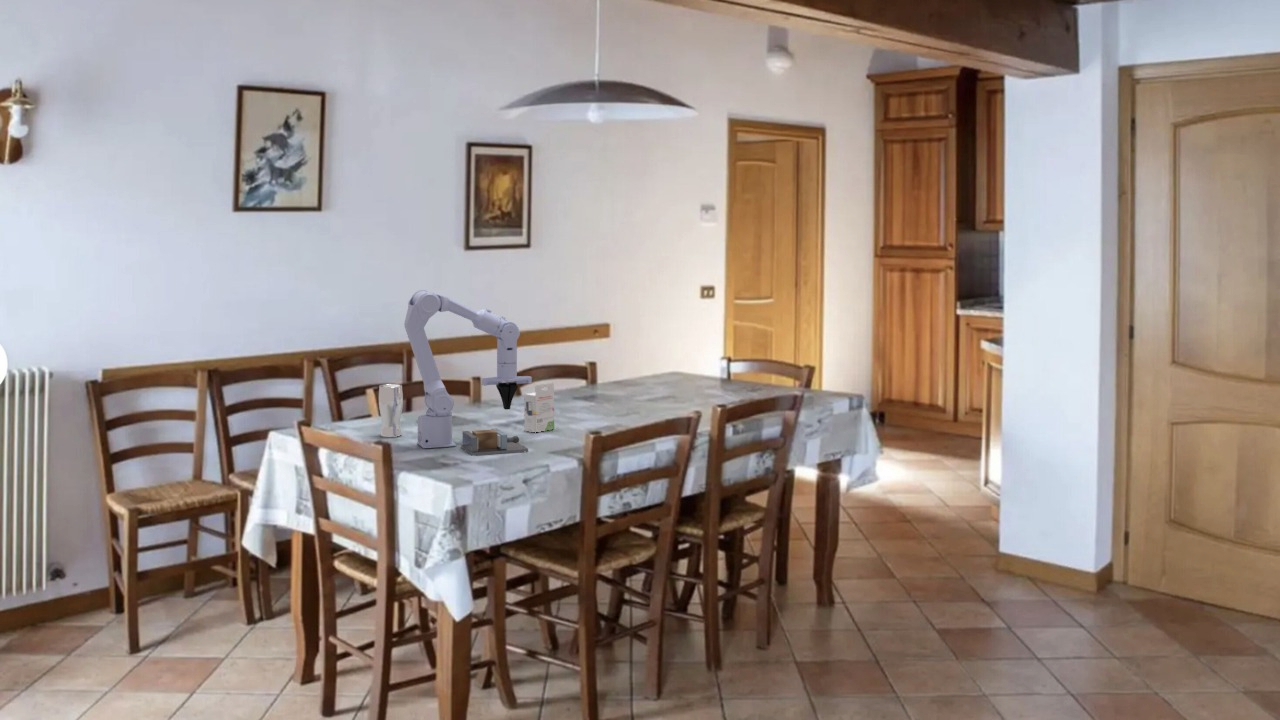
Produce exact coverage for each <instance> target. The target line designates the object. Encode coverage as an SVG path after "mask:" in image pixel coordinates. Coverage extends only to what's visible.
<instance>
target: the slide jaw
mask: <svg viewBox="0 0 1280 720" xmlns="http://www.w3.org/2000/svg"><path fill="white" fill-rule="evenodd" d="M490 430H494V431H496V432H497V447H499V448H500V449H507V443H508V442H514V443H519V441H520V437H519V436H517V435H514V436H512V437H511V436H510V437H508V434H507V433H505V432H504V431H502V430H501V429H498V428H496V427H495V428H491V429H490Z"/></svg>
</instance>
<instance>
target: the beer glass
mask: <svg viewBox="0 0 1280 720" xmlns="http://www.w3.org/2000/svg"><path fill="white" fill-rule="evenodd" d="M378 388H379V389H378V407H379V413H380V419H381V431H380V437H381V436H383V437H382V438H386V437H394V438H398V437H397V436H400V435H401V436H402V428H401V418H402V413H403V412H402V411H403V407H404V393H403V385H402V384H397V383H386V384H385V383H384V384H380V385H379V386H378ZM401 436H400V437H401Z"/></svg>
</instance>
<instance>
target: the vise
mask: <svg viewBox="0 0 1280 720" xmlns="http://www.w3.org/2000/svg"><path fill="white" fill-rule="evenodd" d="M461 447H462V448H461ZM460 448H461V449H462V450H464V451H465V450H466V451H465V452H467V454H469V453H470V454H469V455H471V456H472V455H476V456H485V455H487V456H488V455H501V454H502V453H504V454H513V453H512V452H518V453H525V452H524V451H528V452H529V448H528V447H526V446H525V445H522V444H521V443H519V442H518V443H514V442H508V443H507V449H500V448H499V447H497V448H490V449H478V437H476V436H475V435H473V434H472V432H470V431H469V430H462V444H460Z"/></svg>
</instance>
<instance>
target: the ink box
mask: <svg viewBox="0 0 1280 720" xmlns="http://www.w3.org/2000/svg"><path fill="white" fill-rule="evenodd" d="M534 388H535V389H534V390H535V392H534V391H533V392H529V393H524V394H523V395H524V396H523V397H524V400H523V402H524V406H523V407H524V408H523V409H524V414H523V415H524V432H526V431H529V432H528V433H531V432H535V433H534V434H537V433H536V432H539V433H542V432H541V431H544V432H547V431H546V430H549V431H553V430H552V429H554V430H555V390H554V389H555V387H554V383H553V382H549V383H548V382H547V383H542V384H536V385H535V387H534ZM543 388H547V389H543Z"/></svg>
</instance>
